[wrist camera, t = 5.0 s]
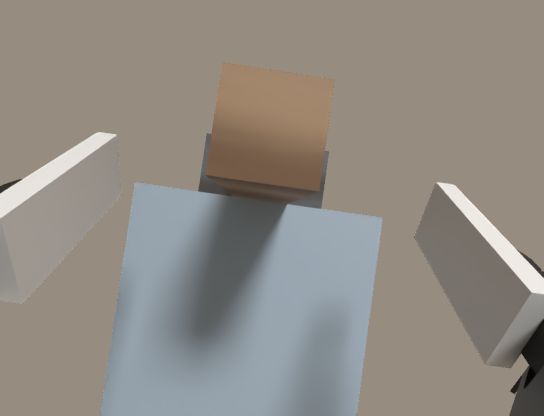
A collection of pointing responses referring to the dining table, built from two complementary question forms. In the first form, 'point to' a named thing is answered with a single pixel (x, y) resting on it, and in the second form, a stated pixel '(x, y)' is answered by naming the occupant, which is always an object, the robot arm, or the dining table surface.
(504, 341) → the robot arm
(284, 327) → the pedestal
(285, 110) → the mallet
